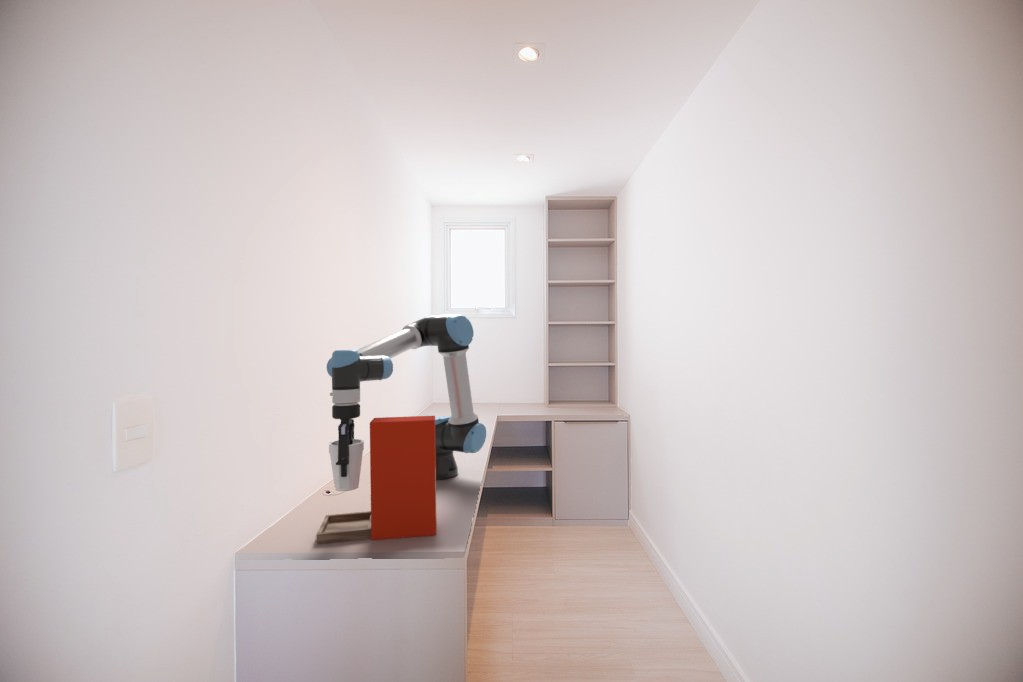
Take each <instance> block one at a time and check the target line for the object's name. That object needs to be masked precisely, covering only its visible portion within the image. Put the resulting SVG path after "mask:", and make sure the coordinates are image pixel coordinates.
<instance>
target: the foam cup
mask: <svg viewBox="0 0 1023 682" xmlns="http://www.w3.org/2000/svg"><path fill="white" fill-rule="evenodd" d="M364 445H365V442H364V439H362V438H354V439H353V444H351V445H348V446H349V463H350V488H341V489H339V465H336V462H337V461H338V439H337V440H333V441H330V442H329V443H328V454H329V456H330V461H331V462H330V464H331V471H332V476H333V484H334V490H335V491H337V492H349V491H354V490H357V489H358V488H359V485H360V480H361V471H362V463H363V462H362V461H363V455H364V453H363V452H364V449H365V448H364V447H365V446H364ZM341 460H342V459H341Z"/></svg>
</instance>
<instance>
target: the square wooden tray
mask: <svg viewBox="0 0 1023 682" xmlns="http://www.w3.org/2000/svg"><path fill="white" fill-rule="evenodd" d="M315 535H316V536H315V537H316V545H321V544H329V543H338V542H339V543H340V542H347V541H348V542H349V541H358V540H359V541H360V540H367V539H371V510H367V511H358V512H348V513H347V512H345V513H334V514H326V515H325V516H324V518H323V520H322V522H321V524H320V527H319V528H318V531H317V533H316V534H315Z"/></svg>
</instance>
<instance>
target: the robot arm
mask: <svg viewBox="0 0 1023 682" xmlns="http://www.w3.org/2000/svg"><path fill="white" fill-rule="evenodd" d="M473 338H474V328H473V324H472V322H471V321H470V319H469V318H467V317H466V316H465V315H463V314H455V313H453V314H452V313H451V314H440V315H430V316H426V317H423V318H419V319H418V320H416V321H413V322H412V323H409V324H407V325H405V326H403V328H402V329H401V330H400V331H397V332H395V333H393V334H390V335H388V336H385V337H383V338H381V339H379V340H377V341H373V342H372V343H370V344H367V345H365V346H362V347H360V348H358V349H336V350H334V351H333V352H332V353H331V357H330V358H329V359H328V361H327V363H326V371H327V374H328V376H330V377H331V388H332V389H331V392H330V393H329V396H330V397H331V398H332V401H331V403H332V404H333V405H332V406H331V417H332V418H333V419H334V420H340V423H339V424H338V426H337V427H338V428H337V431H338V439H337V440H338V461H337V462H336V465H339V489H341V488H350V463H349V446H348V445H351V444H353V439H355V420H354V419H358V418H359V417H360V416H361V404H360V402H361V382H371V381H382V380H387V379H389V378H390V377H391V375H392V374H393V372H394V363H393V361H392V358H394V357H397V356H399V355H401V354H403V353H405V352H407V351H408V350H417V349H419V348H422V347H437V351H438V353H439V354H440V355H441V356H442V359H443V364H444V365H443V366H444V371H445V372H444V373H445V379H446V387H447V392H448V393H447V394H448V399H449V407H450V408H449V409H450V414H451V415H446V416H445V415H444V416H435V446H436V480H445V479H450V478H453V477H456V476H457V475H458V473H459V470H458V469H459V468H458V465H457V462H456V459H455V456H454V452H459V453H465V454H476V453H478V452H480V450H482V448H483V446H484V444H485V443H486V439H487V429H486V426H485V425H484V424H483V423H481V422H479V421H480V420H479V417H478V416H479V415H478V414H477V413H475V412H474V407H473V398H472V391H471V384H470V376H469V368H468V360H467V352H468V350H469V349H470V346H469V345H471V343H472V342H473ZM341 459H342V460H341Z"/></svg>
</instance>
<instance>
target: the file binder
mask: <svg viewBox="0 0 1023 682" xmlns="http://www.w3.org/2000/svg"><path fill="white" fill-rule="evenodd" d="M435 418H436V415H421V416H419V415H415V416H414V415H413V416H391V417H389V416H388V417H387V416H385V417H374V418H373V419H372V420H371V421H370V422H369V458H370V460H369V461H370V462H369V464H370V465H369V467H370V473H369V474H370V511H371V538H370V539H371V541H375V540H376V541H377V540H388V539H389V540H391V539H392V540H393V539H402V538H405V539H406V538H417V537H428V536H433V537H434V536H436V535H437V524H438V523H437V520H438V519H437V479H436V446H435Z"/></svg>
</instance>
